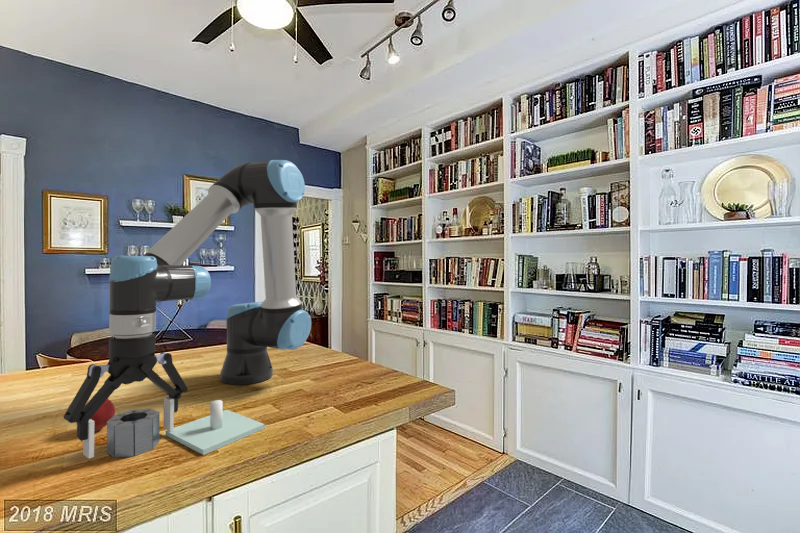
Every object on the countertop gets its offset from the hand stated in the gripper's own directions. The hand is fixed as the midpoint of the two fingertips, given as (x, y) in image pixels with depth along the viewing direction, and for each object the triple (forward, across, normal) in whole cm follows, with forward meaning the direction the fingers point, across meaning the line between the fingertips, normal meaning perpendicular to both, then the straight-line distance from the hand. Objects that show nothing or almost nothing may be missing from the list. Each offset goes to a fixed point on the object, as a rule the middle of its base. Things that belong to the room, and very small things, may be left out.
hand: (131, 442), depth 77 cm
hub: (+1, 0, 0) cm, 1 cm away
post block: (+1, +14, -7) cm, 15 cm away
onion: (+1, 0, +14) cm, 14 cm away
